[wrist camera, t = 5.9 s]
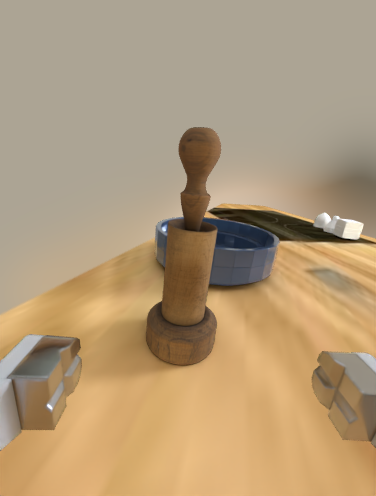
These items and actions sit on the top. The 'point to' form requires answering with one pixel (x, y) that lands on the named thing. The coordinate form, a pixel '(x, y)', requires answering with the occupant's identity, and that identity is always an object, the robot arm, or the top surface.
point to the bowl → (231, 251)
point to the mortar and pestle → (188, 262)
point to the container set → (339, 226)
